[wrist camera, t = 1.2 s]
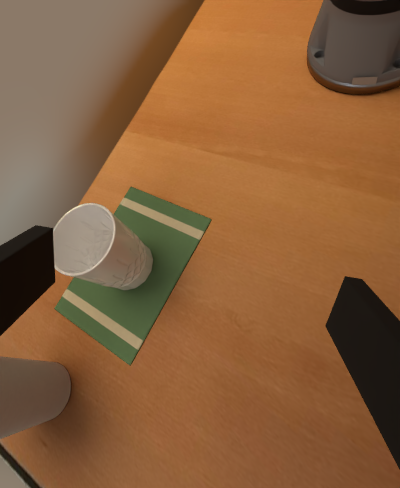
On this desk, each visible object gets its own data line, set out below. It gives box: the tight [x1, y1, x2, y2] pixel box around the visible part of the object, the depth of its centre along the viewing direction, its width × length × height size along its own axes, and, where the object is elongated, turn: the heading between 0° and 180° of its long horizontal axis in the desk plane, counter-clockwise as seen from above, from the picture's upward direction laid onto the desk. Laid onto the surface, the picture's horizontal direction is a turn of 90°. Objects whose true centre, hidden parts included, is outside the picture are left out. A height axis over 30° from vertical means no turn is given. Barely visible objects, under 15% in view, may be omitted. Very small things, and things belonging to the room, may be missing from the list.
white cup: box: [53, 203, 153, 290], centre depth 34 cm, size 8×8×10 cm
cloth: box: [54, 187, 211, 365], centre depth 39 cm, size 20×14×1 cm
